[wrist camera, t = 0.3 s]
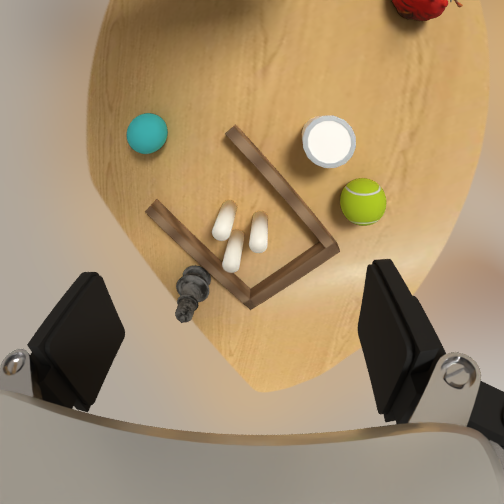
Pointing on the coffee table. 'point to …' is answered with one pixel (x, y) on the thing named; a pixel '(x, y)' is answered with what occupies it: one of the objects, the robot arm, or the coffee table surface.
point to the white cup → (328, 141)
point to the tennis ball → (363, 201)
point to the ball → (147, 133)
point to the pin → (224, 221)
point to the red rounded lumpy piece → (421, 8)
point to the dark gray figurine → (191, 291)
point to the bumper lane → (214, 265)
